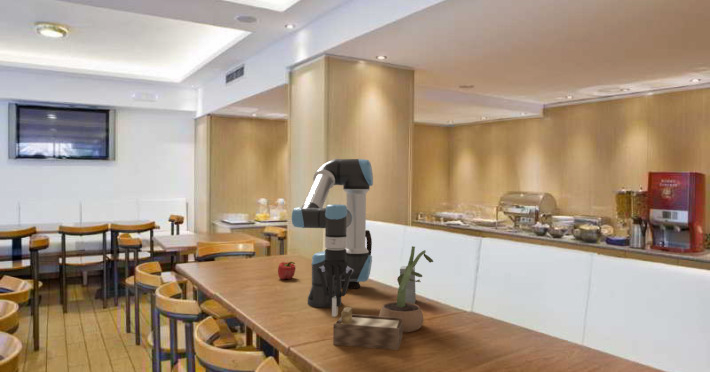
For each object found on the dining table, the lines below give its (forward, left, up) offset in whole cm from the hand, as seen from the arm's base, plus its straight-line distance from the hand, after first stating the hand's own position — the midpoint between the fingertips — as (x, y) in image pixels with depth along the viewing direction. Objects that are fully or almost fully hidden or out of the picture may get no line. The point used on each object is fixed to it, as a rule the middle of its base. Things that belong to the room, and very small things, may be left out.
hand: (334, 315), depth 168 cm
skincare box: (+20, +57, -8) cm, 61 cm away
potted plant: (+23, +21, -8) cm, 32 cm away
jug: (-11, +78, -8) cm, 79 cm away
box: (+12, 0, -8) cm, 15 cm away
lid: (+12, 0, -3) cm, 13 cm away
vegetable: (-50, +89, -8) cm, 102 cm away
